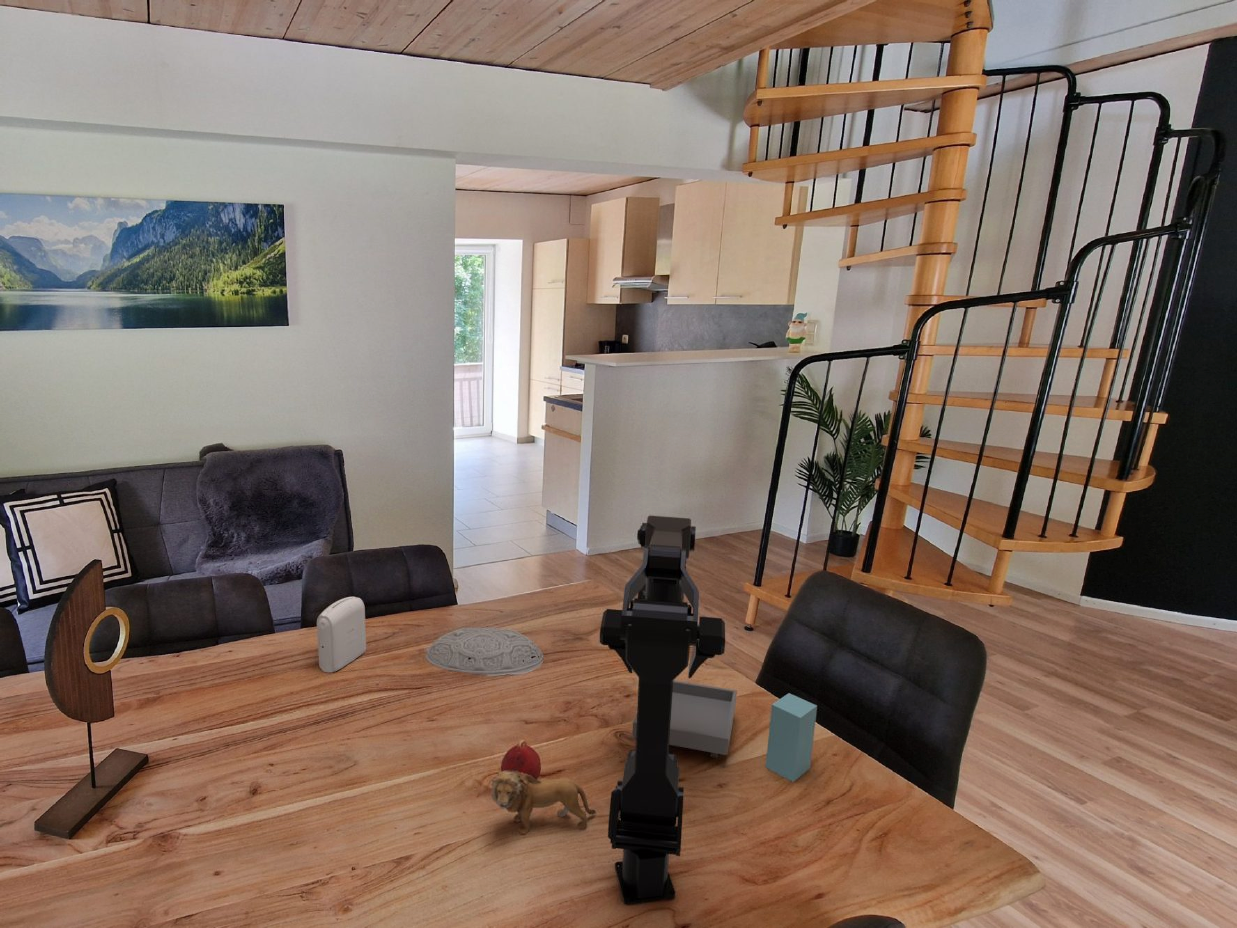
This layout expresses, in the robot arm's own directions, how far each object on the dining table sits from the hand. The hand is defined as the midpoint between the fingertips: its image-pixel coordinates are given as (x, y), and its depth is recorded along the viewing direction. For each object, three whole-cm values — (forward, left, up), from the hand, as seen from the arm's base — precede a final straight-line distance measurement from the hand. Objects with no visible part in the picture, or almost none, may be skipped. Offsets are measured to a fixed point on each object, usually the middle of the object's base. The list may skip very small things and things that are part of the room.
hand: (660, 673), depth 118 cm
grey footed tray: (+4, -6, -14) cm, 16 cm away
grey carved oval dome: (+36, +26, -15) cm, 46 cm away
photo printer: (+37, +53, -14) cm, 66 cm away
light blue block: (-7, -20, -14) cm, 25 cm away
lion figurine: (-14, +20, -14) cm, 28 cm away
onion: (-6, +22, -14) cm, 27 cm away
